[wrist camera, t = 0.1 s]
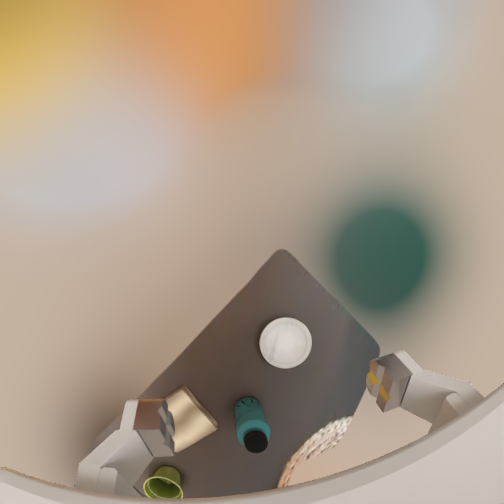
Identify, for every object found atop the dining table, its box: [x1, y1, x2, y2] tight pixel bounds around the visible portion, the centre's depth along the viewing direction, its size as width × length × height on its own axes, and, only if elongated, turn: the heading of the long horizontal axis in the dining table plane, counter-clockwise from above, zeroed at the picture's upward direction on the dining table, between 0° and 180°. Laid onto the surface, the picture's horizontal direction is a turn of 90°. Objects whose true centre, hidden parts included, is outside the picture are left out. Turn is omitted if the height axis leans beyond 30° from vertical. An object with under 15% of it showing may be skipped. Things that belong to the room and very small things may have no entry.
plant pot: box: [143, 466, 183, 499], centre depth 49 cm, size 9×9×9 cm
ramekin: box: [259, 317, 312, 368], centre depth 61 cm, size 11×11×5 cm
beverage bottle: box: [234, 397, 271, 453], centre depth 50 cm, size 6×7×20 cm
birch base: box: [164, 385, 217, 453], centre depth 55 cm, size 12×12×4 cm
